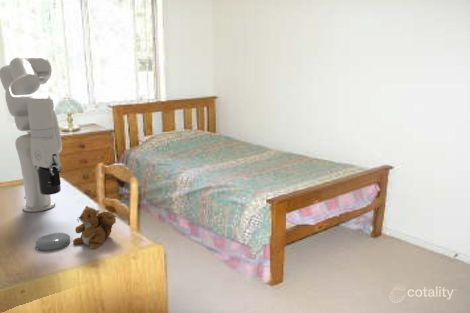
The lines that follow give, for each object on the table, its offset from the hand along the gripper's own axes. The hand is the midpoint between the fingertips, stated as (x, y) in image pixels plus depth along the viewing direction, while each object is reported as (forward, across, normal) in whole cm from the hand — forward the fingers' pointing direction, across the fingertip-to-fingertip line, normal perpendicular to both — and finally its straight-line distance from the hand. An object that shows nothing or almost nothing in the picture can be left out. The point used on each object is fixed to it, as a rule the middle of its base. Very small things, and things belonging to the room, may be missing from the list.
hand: (49, 183), depth 148 cm
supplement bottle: (+3, 0, 0) cm, 3 cm away
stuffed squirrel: (+21, +14, +6) cm, 26 cm away
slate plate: (+20, +4, -4) cm, 21 cm away
